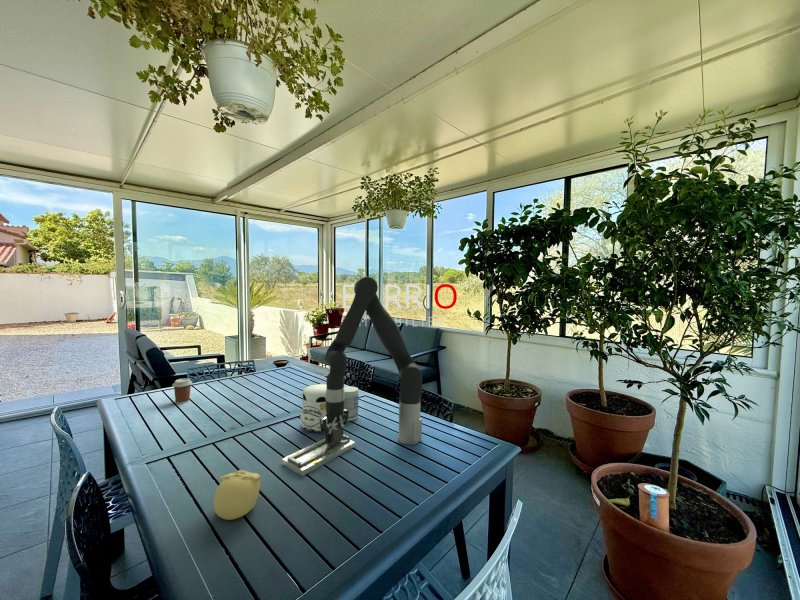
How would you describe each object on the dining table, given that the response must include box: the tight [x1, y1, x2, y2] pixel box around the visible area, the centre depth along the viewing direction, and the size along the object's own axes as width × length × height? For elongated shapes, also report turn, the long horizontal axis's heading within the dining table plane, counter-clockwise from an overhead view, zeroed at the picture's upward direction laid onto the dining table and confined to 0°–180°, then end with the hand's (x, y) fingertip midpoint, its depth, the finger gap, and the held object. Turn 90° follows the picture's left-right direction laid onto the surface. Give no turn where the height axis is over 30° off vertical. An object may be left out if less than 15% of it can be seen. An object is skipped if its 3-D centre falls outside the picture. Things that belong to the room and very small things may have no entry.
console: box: [281, 433, 356, 477], centre depth 123 cm, size 26×12×3 cm, turn 144°
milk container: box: [300, 383, 337, 433], centre depth 147 cm, size 17×17×18 cm
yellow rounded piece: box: [212, 469, 262, 521], centre depth 92 cm, size 11×12×11 cm
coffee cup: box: [172, 378, 193, 405], centre depth 175 cm, size 9×9×12 cm
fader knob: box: [327, 425, 342, 446], centre depth 128 cm, size 4×4×6 cm
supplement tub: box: [344, 386, 360, 422], centre depth 159 cm, size 10×10×15 cm
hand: (334, 438), depth 128 cm, fingers open, 5 cm apart
